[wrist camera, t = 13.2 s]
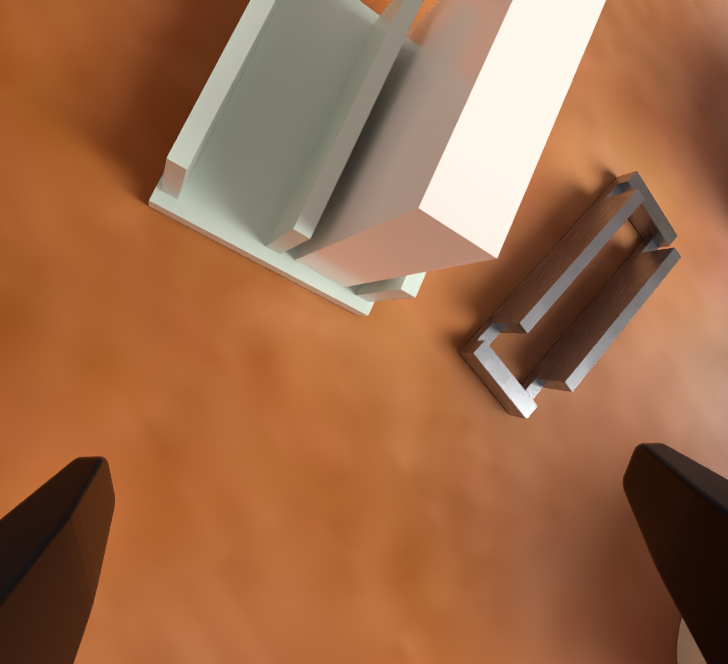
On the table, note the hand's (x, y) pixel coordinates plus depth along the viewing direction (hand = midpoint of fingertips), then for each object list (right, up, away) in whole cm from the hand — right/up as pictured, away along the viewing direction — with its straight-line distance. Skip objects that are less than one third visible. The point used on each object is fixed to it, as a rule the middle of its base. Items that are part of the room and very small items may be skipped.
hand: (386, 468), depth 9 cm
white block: (0, +9, +13) cm, 16 cm away
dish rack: (-2, +10, +13) cm, 16 cm away
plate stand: (+9, +4, +18) cm, 21 cm away
